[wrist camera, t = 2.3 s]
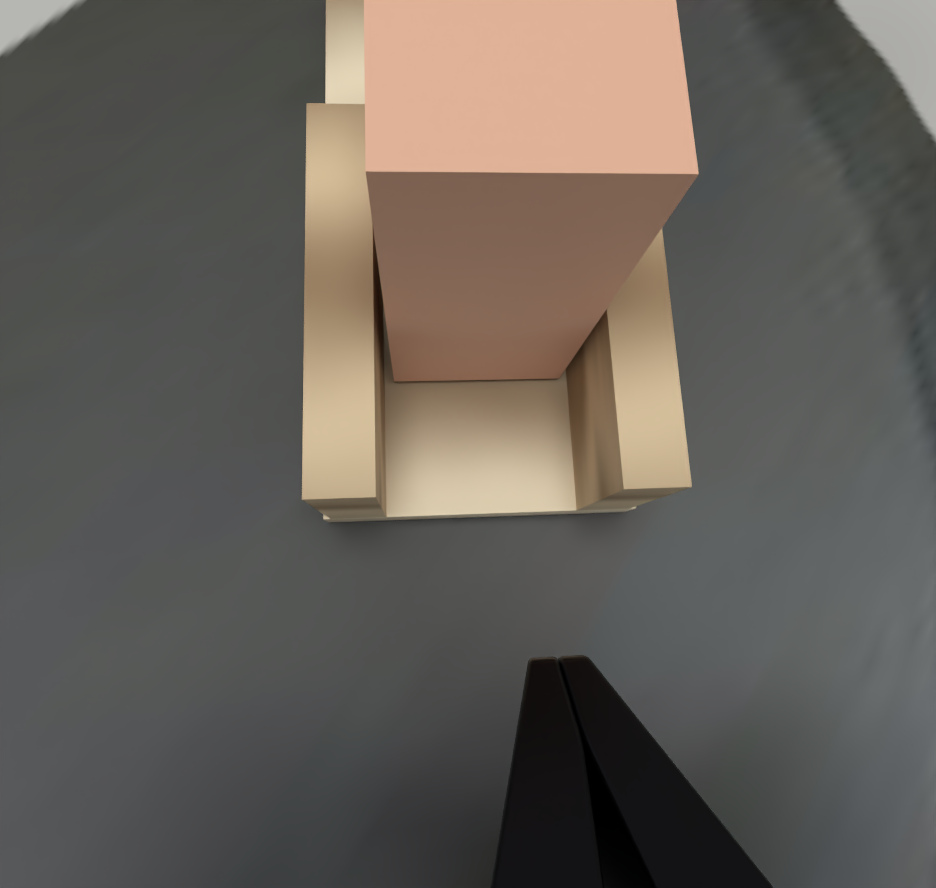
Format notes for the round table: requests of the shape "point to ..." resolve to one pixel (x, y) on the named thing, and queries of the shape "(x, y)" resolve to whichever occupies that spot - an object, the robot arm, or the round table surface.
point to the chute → (464, 401)
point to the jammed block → (517, 172)
